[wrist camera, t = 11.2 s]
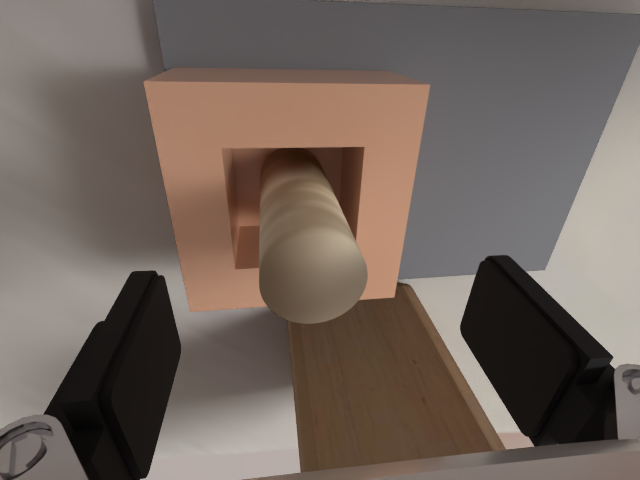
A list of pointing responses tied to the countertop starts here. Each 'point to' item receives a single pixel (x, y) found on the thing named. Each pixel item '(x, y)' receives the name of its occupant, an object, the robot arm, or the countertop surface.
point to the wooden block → (381, 389)
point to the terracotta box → (265, 138)
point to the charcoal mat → (448, 104)
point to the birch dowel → (305, 242)
